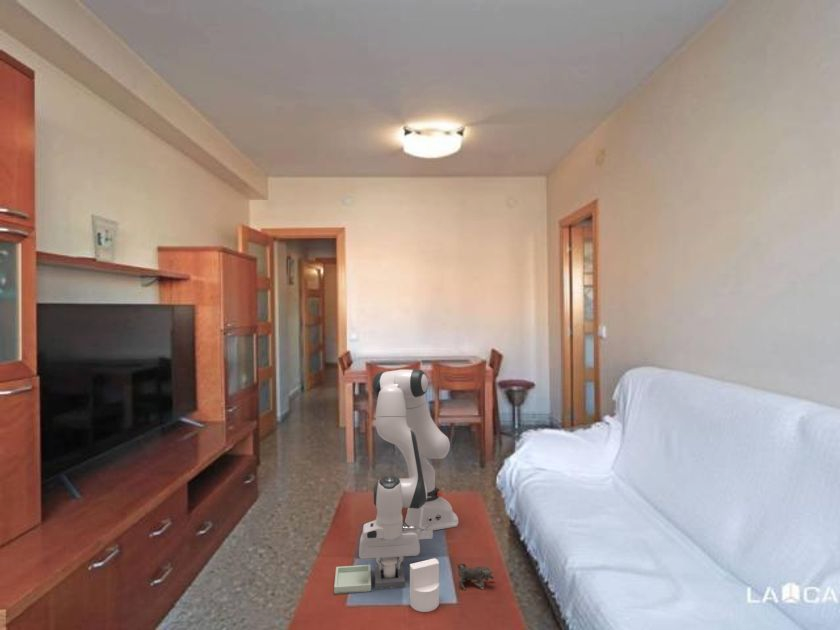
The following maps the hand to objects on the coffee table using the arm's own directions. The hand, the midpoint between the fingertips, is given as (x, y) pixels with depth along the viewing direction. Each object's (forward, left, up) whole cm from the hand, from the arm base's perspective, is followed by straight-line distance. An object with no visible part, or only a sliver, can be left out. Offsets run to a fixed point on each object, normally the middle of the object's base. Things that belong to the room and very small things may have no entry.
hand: (389, 568), depth 153 cm
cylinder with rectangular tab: (-10, +13, -4) cm, 17 cm away
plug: (0, 0, -4) cm, 4 cm away
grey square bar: (-7, -10, +4) cm, 13 cm away
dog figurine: (-28, +7, -4) cm, 29 cm away
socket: (0, -4, -4) cm, 5 cm away
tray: (+12, 0, -4) cm, 13 cm away
